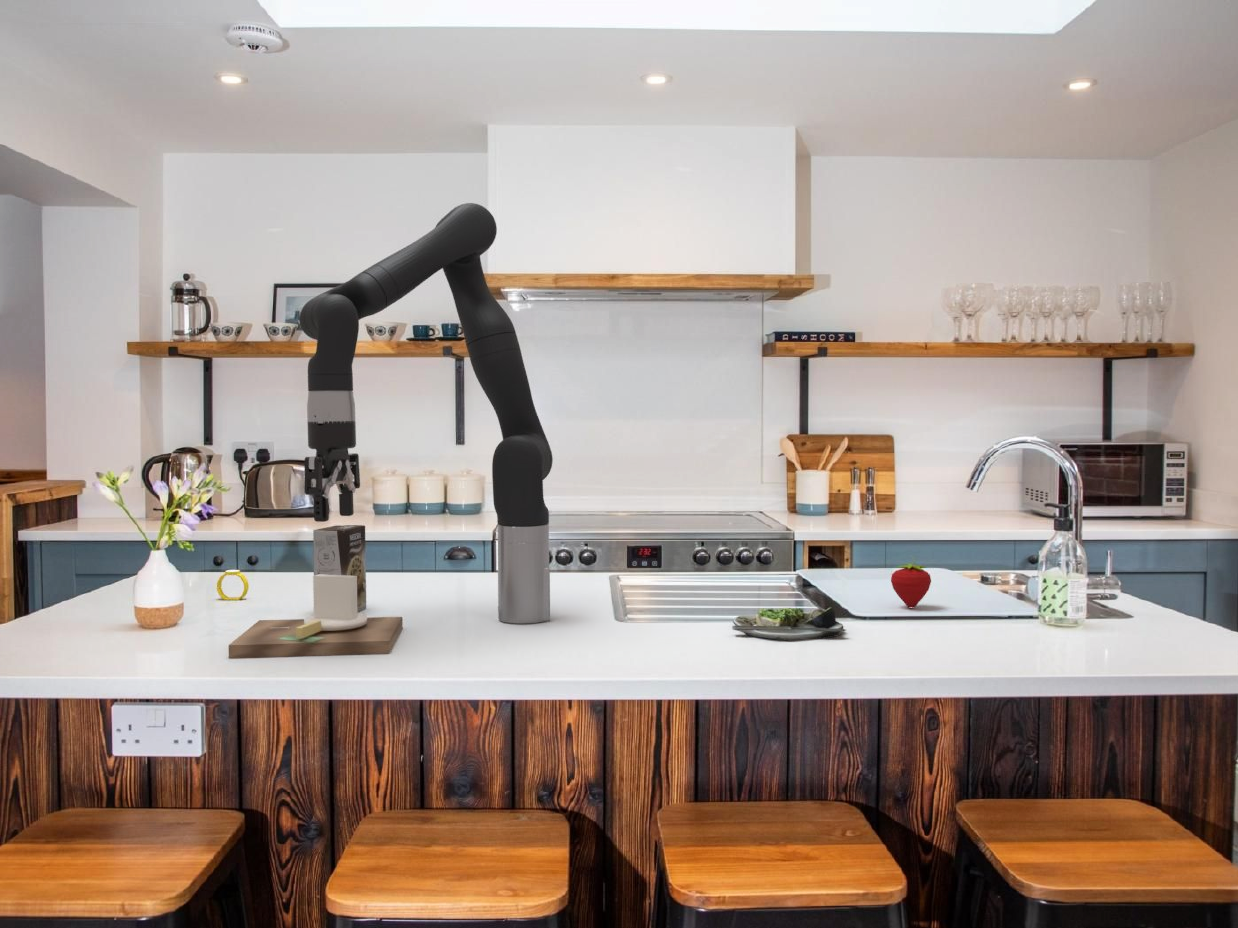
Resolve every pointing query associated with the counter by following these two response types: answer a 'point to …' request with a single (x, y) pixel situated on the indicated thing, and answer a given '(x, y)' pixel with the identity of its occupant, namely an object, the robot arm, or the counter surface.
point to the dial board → (316, 639)
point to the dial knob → (333, 605)
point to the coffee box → (342, 555)
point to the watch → (237, 572)
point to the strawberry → (911, 583)
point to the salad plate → (790, 624)
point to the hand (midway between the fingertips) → (334, 518)
